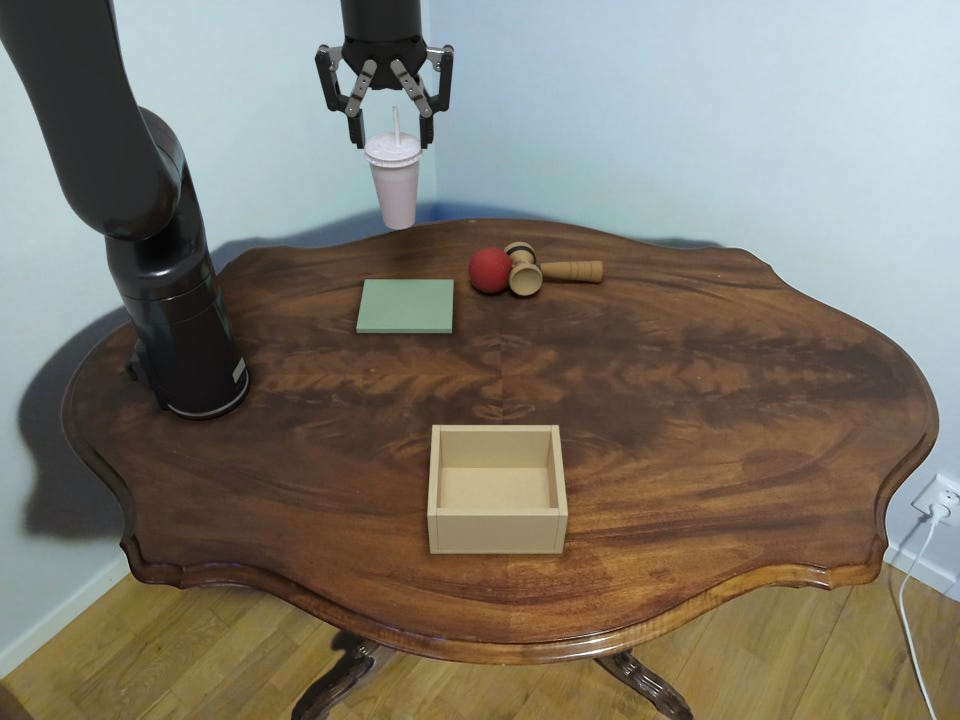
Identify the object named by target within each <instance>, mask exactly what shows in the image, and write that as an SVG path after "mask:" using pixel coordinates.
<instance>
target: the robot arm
mask: <svg viewBox="0 0 960 720" xmlns="http://www.w3.org/2000/svg"><path fill="white" fill-rule="evenodd" d="M339 2H340V9H341V18H342V26H343V34H344V40H343V44H342V45H341V46H331V47H329V45H327V44H325V43H322V44H319V46H318V48H317V50H316V53H315V55H314V63H315V67H316V71H317V75H318V78H319V81H320V85H321V89H322V93H323V97H324V101H325V104H326V107H327V109H328V110H329V111H330V112H332V113H334V112H337V111H338V112H339V113H343V114H344V115H345V116H346V119H347V125H348V126H347V127H348V135H349V140H350V142H351V144H353V145H354V144H355V145H356V149H357V150H364V147H365V143H366V142H367V141H366V139H367V138H366V129H365V121H364V112H363V108H361V104H362V102H363V101H364V98H365V96H366V94H367V91H368V89H371V91H382V90H386V89H387V90H392V91H403V89H404V91H405V93H406V94H407V96H408V98H409V99H410V102H411V101H412V102H413V103H414V106H415V107H416V108H417V110H418V112H419V117H418V121H419V140H420V142H421V149H422V150H428V148H429V145H432V144H433V142H434V139H435V123H434V121H435V119H434V115H435V114H437V113H439V112H441V113H445V112H447V111H449V109H450V101H451V91H452V81H453V71H454V70H453V69H454V59H455V57H454V56H455V48H454V46H452V45H451V44H445V45H443V47H437V46H436V47H434V46H428V45H427V42H426V40H425V39H424V35H423V28H422V27H423V26H422V25H423V23H422V7H421V6H422V5H421V0H339ZM118 28H119V27H118V22H117V14H116V7H115V2H114V0H0V42H1V44H2V46H3V48H4V50H5V52H6V54H7V55H8V58H9V59H10V61H11V63H12V65H13V67H14V69H15V72H16V73H17V75H18V77H19V79H20V81H21V83H22V85H23V87H24V90H25V92H26V95H27V97H28V99H29V102H30V104H31V107H32V109H33V112H34V114H35V117H36V120H37V124H38V126H39V128H40V131H41V134H42V137H43V140H44V143H45V146H46V147H47V151H48V154H49V157H50V160H51V163H52V166H53V169H54V172H55V176H56V178H57V180H58V183H59V186H60V190H61V192H62V194H63V197H64V199H65V201H66V202H67V204H68V205H69V207H70V209H71V210H72V211H73V213H74V214H75V215H76V216H77V217H78V218H79V219H80V220H81V221H82V222H83V223H84V224H85V225H86V226H88V227H89V228H90V229H92V230H94V231H95V232H96V233H99V234H101V235H103V238H104V244H105V254H106V255H105V257H106V263H107V267H108V270H109V273H110V276H111V277H112V280H113V282H114V284H115V287H116V289H117V291H118V294H119V296H120V298H121V300H122V302H123V305H124V308H125V309H126V312H127V314H128V316H129V318H130V321H131V323H132V325H133V327H134V330H135V332H136V334H137V337H138V339H137V341H136V343H135V345H134V352H133V354H132V356H131V357H130V358H128V359H127V360H126V361H125V363H124V370H125V372H126V373H127V375H128V376H129V378H130V379H131V380H137V379H138V381H139V382H148V383H149V385H150V388H151V391H152V392H153V394H154V396H155V398H156V401H157V403H158V405H159V407H160V410H163V411H165V410H166V411H167V410H168V411H170V412H172V414H174V415H175V416H177V417H179V418H182V419H184V420H190V421H204V420H211V419H215V418H217V417H220V416H223V415H225V414H227V413H229V412H231V411H232V410H234V409H235V408H236V407H238V406H239V405H240V404H241V403H242V402H243V401H244V399H245V398H246V396H247V394H248V392H249V390H250V386H251V382H250V376H249V373H248V370H247V368H246V364H245V360H244V358H243V355H242V353H241V350H240V346H239V343H238V340H237V337H236V334H235V331H234V328H233V324H232V321H231V318H230V315H229V312H228V308H227V306H226V302H225V299H224V296H223V292H222V289H221V287H220V282H219V280H218V277H217V273H216V270H215V268H214V264H213V260H212V257H211V254H210V250H209V246H208V239H207V233H206V227H205V221H204V217H203V213H202V209H201V207H200V203H199V199H198V196H197V193H196V188H195V185H194V181H193V178H192V174H191V171H190V167H189V164H188V161H187V157H186V155H185V152H184V148H183V147H182V144H181V142H180V139H179V138H178V136H177V134H176V133H175V132H174V130H173V128H172V127H171V126H170V125H169V124H168V123H167V121H165V120H164V119H163V118H162V117H161V116H160V115H158V114H156V113H155V112H153V111H151V110H150V109H148V108H146V107H143V106H141V105H139V104H138V102H137V100H136V96H135V95H134V92H133V89H132V86H131V84H130V81H129V77H128V74H127V70H126V67H125V62H124V57H123V52H122V47H121V41H120V34H119V29H118ZM341 60H343V61H344V62H345V63H346V64H347V66H348V68H350V69H351V71H352V72H353V73H354V75H356V79H355V81H354V84H353V87H352V89H351V92H350V94H349V96H348V95H345V94H342V90H341V87H340V84H339V79H338V75H337V71H338V70H339V67H340V64H341V63H340V61H341ZM427 60H428V61H430V62H431V64H432V69H433V70H434V71H435V72H436V73H439V81H438V82H439V83H438V93H437V94H435V95H431V94H430V93H429V91H428V89H427V88H426V85H425V82H424V79H423V78H422V76H421V74H420V73H419V72H420V70H421V69H422V67H423V66H424V64H425V62H426V61H427Z"/></svg>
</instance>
